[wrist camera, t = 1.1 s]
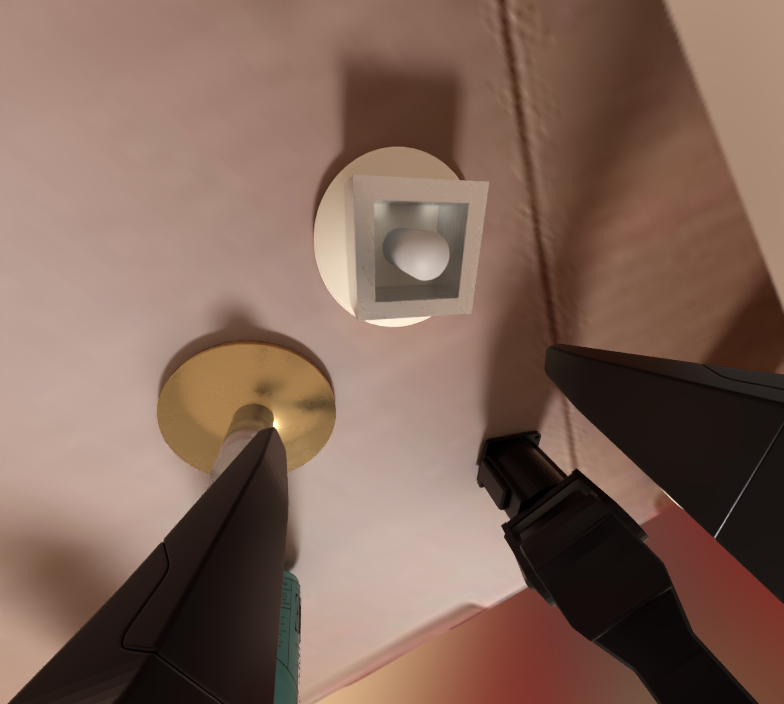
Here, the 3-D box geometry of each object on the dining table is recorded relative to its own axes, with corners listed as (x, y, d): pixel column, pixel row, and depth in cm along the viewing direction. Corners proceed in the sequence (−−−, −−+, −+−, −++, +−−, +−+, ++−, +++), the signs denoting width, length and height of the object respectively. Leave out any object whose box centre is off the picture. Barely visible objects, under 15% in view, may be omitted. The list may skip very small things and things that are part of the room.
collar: (454, 188, 18) (489, 181, 15) (444, 297, 21) (471, 313, 18) (343, 183, 17) (352, 174, 13) (349, 302, 20) (357, 320, 16)
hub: (329, 334, 21) (335, 373, 16) (339, 458, 26) (346, 519, 21) (136, 348, 18) (65, 401, 13) (189, 484, 23) (153, 562, 18)
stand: (481, 155, 19) (545, 131, 13) (461, 318, 23) (504, 346, 18) (304, 142, 16) (301, 107, 11) (321, 328, 21) (325, 364, 16)
